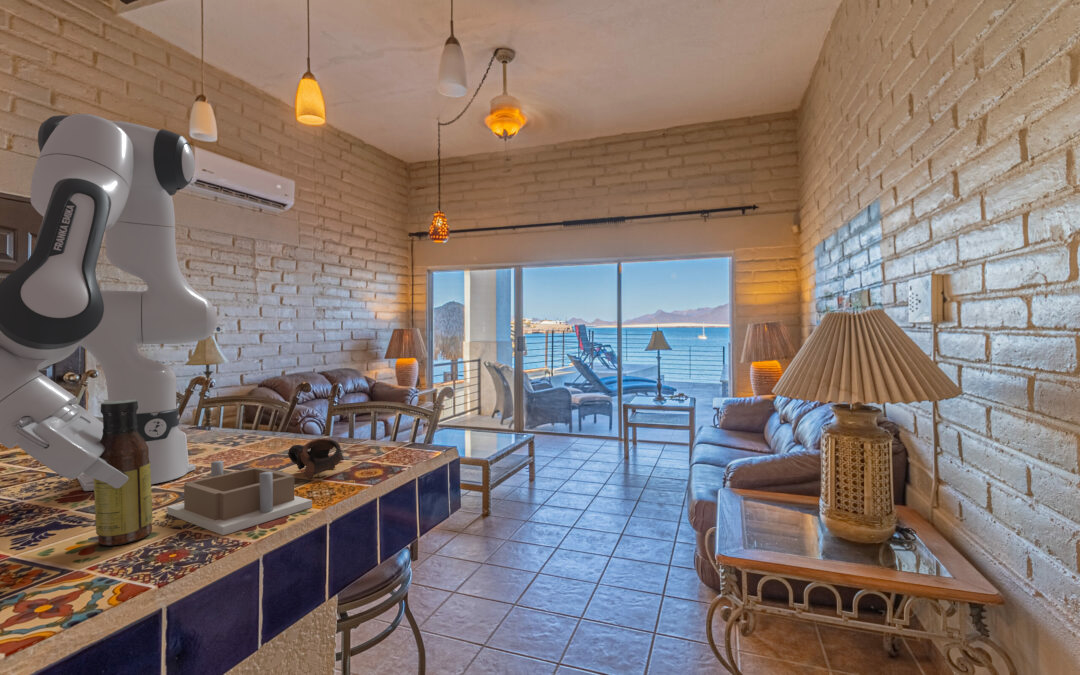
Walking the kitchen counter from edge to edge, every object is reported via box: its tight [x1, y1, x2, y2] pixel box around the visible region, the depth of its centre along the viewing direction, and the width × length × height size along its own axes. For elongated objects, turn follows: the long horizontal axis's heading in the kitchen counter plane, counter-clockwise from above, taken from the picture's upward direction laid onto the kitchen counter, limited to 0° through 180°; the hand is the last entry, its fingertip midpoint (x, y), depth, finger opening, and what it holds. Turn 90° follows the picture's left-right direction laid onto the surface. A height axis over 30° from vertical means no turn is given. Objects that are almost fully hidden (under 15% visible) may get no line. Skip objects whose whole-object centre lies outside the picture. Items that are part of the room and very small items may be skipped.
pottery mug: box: [287, 437, 345, 480], centre depth 106 cm, size 12×10×8 cm
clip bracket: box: [166, 460, 313, 536], centre depth 82 cm, size 18×14×7 cm
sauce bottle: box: [93, 400, 154, 546], centre depth 71 cm, size 7×6×20 cm
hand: (128, 475), depth 71 cm, fingers open, 8 cm apart
